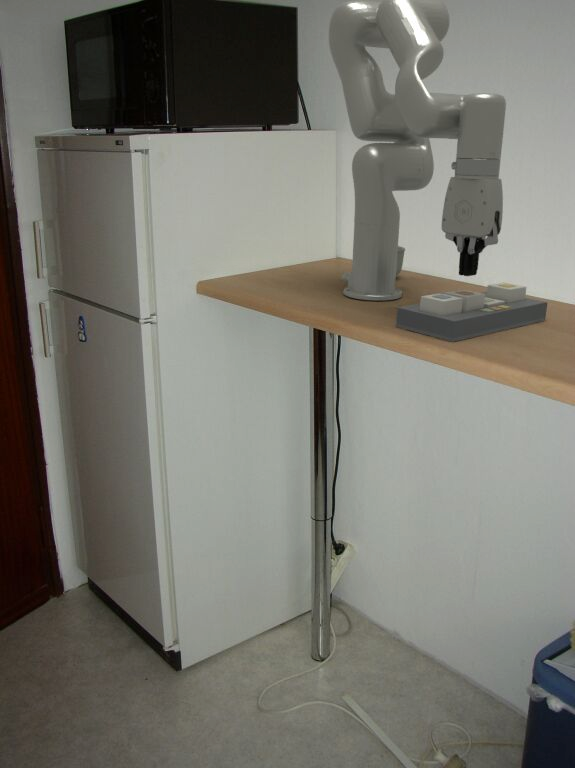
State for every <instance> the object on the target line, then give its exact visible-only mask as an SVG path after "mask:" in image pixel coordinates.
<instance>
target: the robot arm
mask: <svg viewBox="0 0 575 768" xmlns="http://www.w3.org/2000/svg"><path fill="white" fill-rule="evenodd" d="M449 29H450V14H449V10H448V9H447V6H446V5H445V3H444V2H443V1H442V0H382V1H376V0H347V1H344V2H341V3H340V4H338V5H337V7H336V8H335V9H334V11H333V12H332V15H331V16H330V21H329V27H328V45H329V50H330V54H331V58H332V60H333V61H332V62H333V63H334V65H335V68H336V71H337V72H338V75H339V79H340V81H341V87H342V90H343V91H342V92H343V96H344V101H345V106H346V112H347V115H348V120H349V125H350V128H351V131H352V133H353V135H354V137H355V138H356V139H357V140H361V141H365V142H371V143H368V144H367V143H366V144H364V145H363V146H361V147H360V148H358V149H357V151H356V152H355V154H354V155H353V159H352V163H351V171H352V173H351V174H352V179H353V180H352V181H353V187H354V189H353V190H354V216H353V217H354V219H353V221H354V223H353V226H354V227H353V240H352V241H353V244H352V248H353V249H352V261H351V263H352V265H351V271H349V270H347V271H346V272H345V273H343V274H342V275H341V280H342V281H345V282H347V286H346V287H344V289H343V295H344V296H345V297H348V298H352V299H357V300H361V301H362V300H363V301H374V302H377V301H380V302H382V301H393V300H397V299H398V300H399V299H400V298H401V297H402V295H403V290H401V289H400V288H397V287H396V283H397V282H396V278H397V276H396V267H397V253H398V246H399V235H400V223H401V222H400V218H401V212H400V207H399V205H398V202H397V200H396V198H395V196H394V194H393V192H397V191H399V192H401V191H402V192H404V191H405V192H406V191H407V192H408V191H417V190H422V189H424V188H426V187H427V186H428V185H429V184H430V183H431V181H432V179H433V175H434V169H435V165H434V163H435V162H434V156H433V151H432V146H431V141H430V139H449V140H457V143H456V154H455V155H456V156H455V161H453V162H451V167H450V168H451V169H452V170H454V176H451V177H450V179H449V181H448V185H447V188H446V193H445V196H444V197H445V198H444V203H443V210H442V217H441V231H442V232H443V233H445V235H444V237H445V239H446V240H448V241H451V242H453V243H454V245H455V246H456V249H457V252H458V253H459V262H458V276H464V277H471V276H476V275H477V274H478V269H479V260H480V254H482V253H483V251H484V249H485V248H487V246H493V245H498V243H499V237H498V236H499V234H500V233H501V230H502V224H503V213H504V211H503V207H504V205H503V200H504V195H503V183H502V178H500V168H501V158H502V150H503V148H502V147H503V138H504V130H505V120H506V109H507V107H506V106H507V102H506V101H507V100H506V99H505V97H504V96H503V95H501V94H499V93H483V92H482V93H480V92H479V93H469V94H457V93H456V94H455V93H444V92H443V93H440V92H430V91H429V90H428V89H427V87H426V86H425V84H424V82H423V81H424V79H426V78H428V77H430V76H431V75H432V74H433V73H434V72H435V71H437V69H439V67H440V65H441V63H442V62H443V59H444V47H443V45H442V43H441V42H442V41H443V39H445V38H446V36H447V34H448V32H449ZM367 47H369V48H379V49H380V48H381V49H388V50H389V51H390V53H391V55H392V57H393V59H394V61H395V63H396V64H397V67H398V68H399V70H398V73H397V75H396V79H395V85H394V94H393V93H390V92H388V91H387V90H386V87H385V83H384V78H383V73H382V71H381V67H380V66H379V65H378V63H377V61H376V60H375V59H374V57H373V56H372V55H371V54H370V53H369V51H367V49H366V48H367ZM372 142H373V143H372Z"/></svg>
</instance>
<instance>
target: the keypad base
mask: <svg viewBox="0 0 575 768" xmlns="http://www.w3.org/2000/svg"><path fill="white" fill-rule="evenodd" d="M481 293H482V294H485V297H486V296H487V291H483V292H482V291H481ZM547 309H548V301H543V300H538V299H534V298H529V297H525V300H523V301H518V302H513V303H506V302H505V304H503V305H498V306H493V307H485V306H484V308H483V309H477V310H472V311H467V312H466V311H462V312H461V313H457V314H452V315H447V316H439V315H435V314H431V313H427V312H423V311H420V303H415V304H410V305H409V304H408V305H403V306H398V307H397V308H396V318H395V319H396V321H395V327H396V328H399V329H403V330H406V329H407V330H406V331H410V330H411V331H410V332H413V331H414V333H417V334H421V335H425V336H428V335H429V337H432V336H433V338H436V339H439V338H440V340H444V341H447V342H451V343H454V342H455V343H456V342H459V341H462V340H467V339H472V338H476V337H480V336H481V337H482V336H484V335H489V334H493V333H497V332H502V331H506V330H510V329H514V328H519V327H523V326H527V325H531V324H537V323H541V322H544V321H546V316H547Z"/></svg>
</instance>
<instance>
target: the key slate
mask: <svg viewBox="0 0 575 768" xmlns="http://www.w3.org/2000/svg"><path fill="white" fill-rule="evenodd" d="M462 302H463V298H459V297H455V296H450V295H445V294H444V293H433V294H427V295H422V296H420V302H419V304H420V311H423V312H427V313H431V314H435V315H439V316H447V315H452V314H457V313H461V312H462Z"/></svg>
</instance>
